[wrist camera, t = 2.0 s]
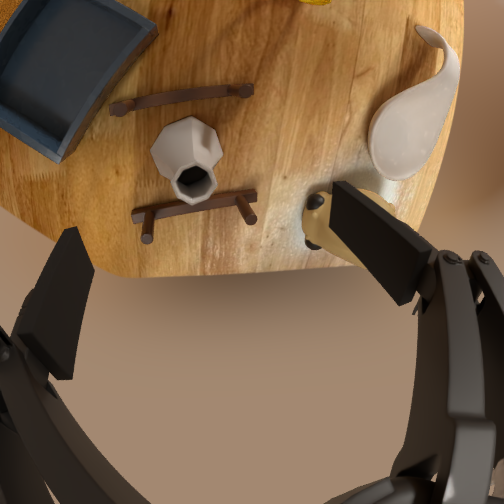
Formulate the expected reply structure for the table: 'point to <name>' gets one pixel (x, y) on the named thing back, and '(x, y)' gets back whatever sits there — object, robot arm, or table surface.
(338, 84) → the table surface
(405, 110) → the spoon rest
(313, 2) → the watch
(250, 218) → the drying rack
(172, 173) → the flask
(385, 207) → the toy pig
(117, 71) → the basin
